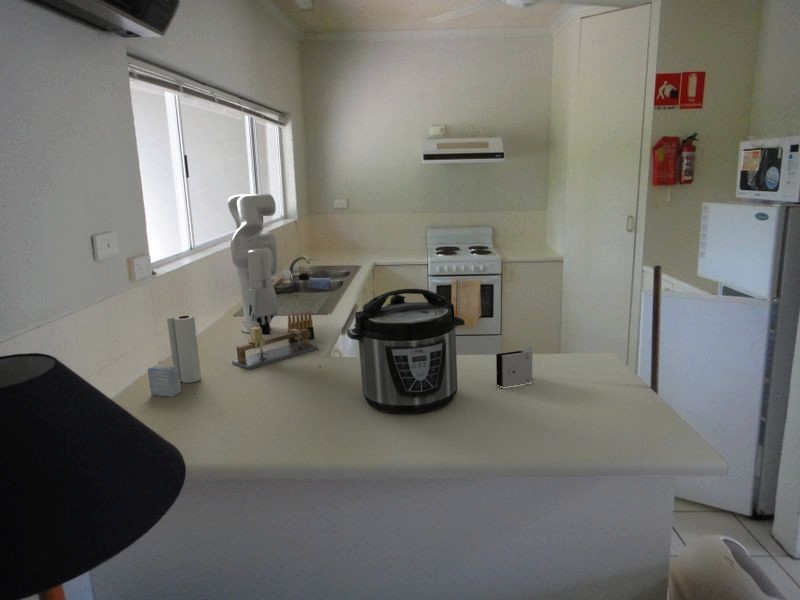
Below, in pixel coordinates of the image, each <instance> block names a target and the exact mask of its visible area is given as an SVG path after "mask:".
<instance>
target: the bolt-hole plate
mask: <svg viewBox="0 0 800 600" xmlns="http://www.w3.org/2000/svg"><path fill="white" fill-rule="evenodd" d="M300 345H301V348H298V342H296V343H292V344H290V343H288V344H286V345H282V346H279V347H276V348H273V349H269V350H266V351H265V350H263V358H261V357H260V352H258V353H255V354H250V355H246V362H245V363H242V364H241V363H238V358H237V359H233V360H231V363H232V364H231V365H234V366H237V367H241V368H244V369H246V370H249V371H250V370H254V369H256V368H260V367H262V366H266V365H269V364H273V363H276V362H280V361H283V360H286V359H289V358H292V357H295V356H299V355H303V354H305V353H309V352H313V351H316V350H318V349H319V347H318V345H316V344H315V345H314V344H311V343H309V344H307V345H303V344H302V341H301V342H300Z"/></svg>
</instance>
